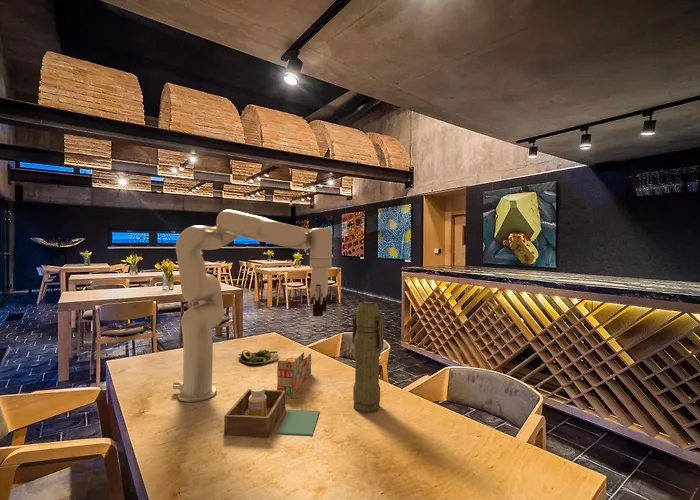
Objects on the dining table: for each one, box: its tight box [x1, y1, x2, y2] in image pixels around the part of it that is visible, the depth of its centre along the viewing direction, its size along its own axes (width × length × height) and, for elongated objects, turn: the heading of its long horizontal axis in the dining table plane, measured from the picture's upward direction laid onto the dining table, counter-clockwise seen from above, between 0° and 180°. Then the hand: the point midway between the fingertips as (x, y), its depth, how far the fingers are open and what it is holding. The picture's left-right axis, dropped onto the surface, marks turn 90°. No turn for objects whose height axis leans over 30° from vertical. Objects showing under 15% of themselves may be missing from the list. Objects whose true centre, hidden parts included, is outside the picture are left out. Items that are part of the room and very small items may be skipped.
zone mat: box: [276, 409, 320, 436], centre depth 103 cm, size 10×14×1 cm
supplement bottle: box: [247, 385, 267, 417], centre depth 104 cm, size 5×5×10 cm
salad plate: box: [238, 349, 280, 367], centre depth 163 cm, size 19×18×5 cm
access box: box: [223, 388, 287, 439], centre depth 104 cm, size 19×13×6 cm
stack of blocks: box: [276, 350, 312, 396], centre depth 134 cm, size 21×6×12 cm, turn 169°
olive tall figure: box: [351, 300, 385, 414], centre depth 114 cm, size 9×12×35 cm
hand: (319, 313), depth 118 cm, fingers open, 9 cm apart
